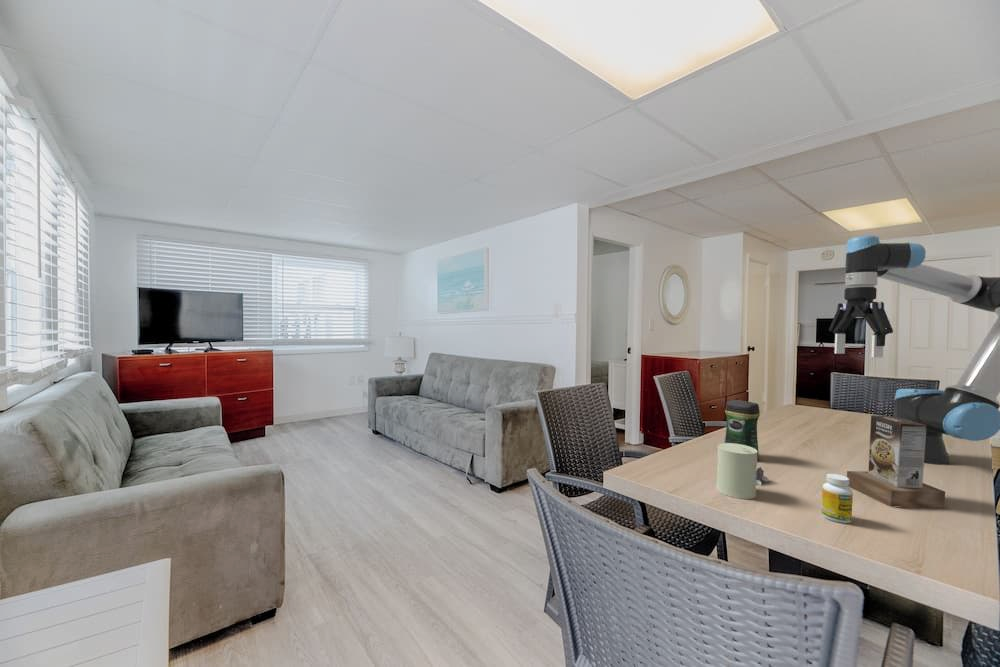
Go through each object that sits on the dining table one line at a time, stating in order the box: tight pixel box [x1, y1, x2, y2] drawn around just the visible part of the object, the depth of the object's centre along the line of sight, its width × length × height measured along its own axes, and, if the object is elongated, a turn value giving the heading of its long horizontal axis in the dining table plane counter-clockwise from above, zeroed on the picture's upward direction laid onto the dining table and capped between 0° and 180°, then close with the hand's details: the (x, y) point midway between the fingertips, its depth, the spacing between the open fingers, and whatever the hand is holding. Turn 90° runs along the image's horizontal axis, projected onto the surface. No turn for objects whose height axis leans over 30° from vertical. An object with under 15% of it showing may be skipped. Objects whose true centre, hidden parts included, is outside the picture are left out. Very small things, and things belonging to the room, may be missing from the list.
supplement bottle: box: [821, 473, 854, 524], centre depth 94 cm, size 5×5×10 cm
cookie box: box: [867, 414, 927, 488], centre depth 107 cm, size 9×6×16 cm
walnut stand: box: [846, 470, 946, 509], centre depth 107 cm, size 13×13×4 cm
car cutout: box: [756, 466, 769, 486], centre depth 118 cm, size 15×7×4 cm, turn 127°
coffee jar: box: [724, 399, 761, 459], centre depth 137 cm, size 10×8×19 cm
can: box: [715, 442, 759, 500], centre depth 108 cm, size 9×9×12 cm
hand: (857, 355), depth 129 cm, fingers open, 13 cm apart
